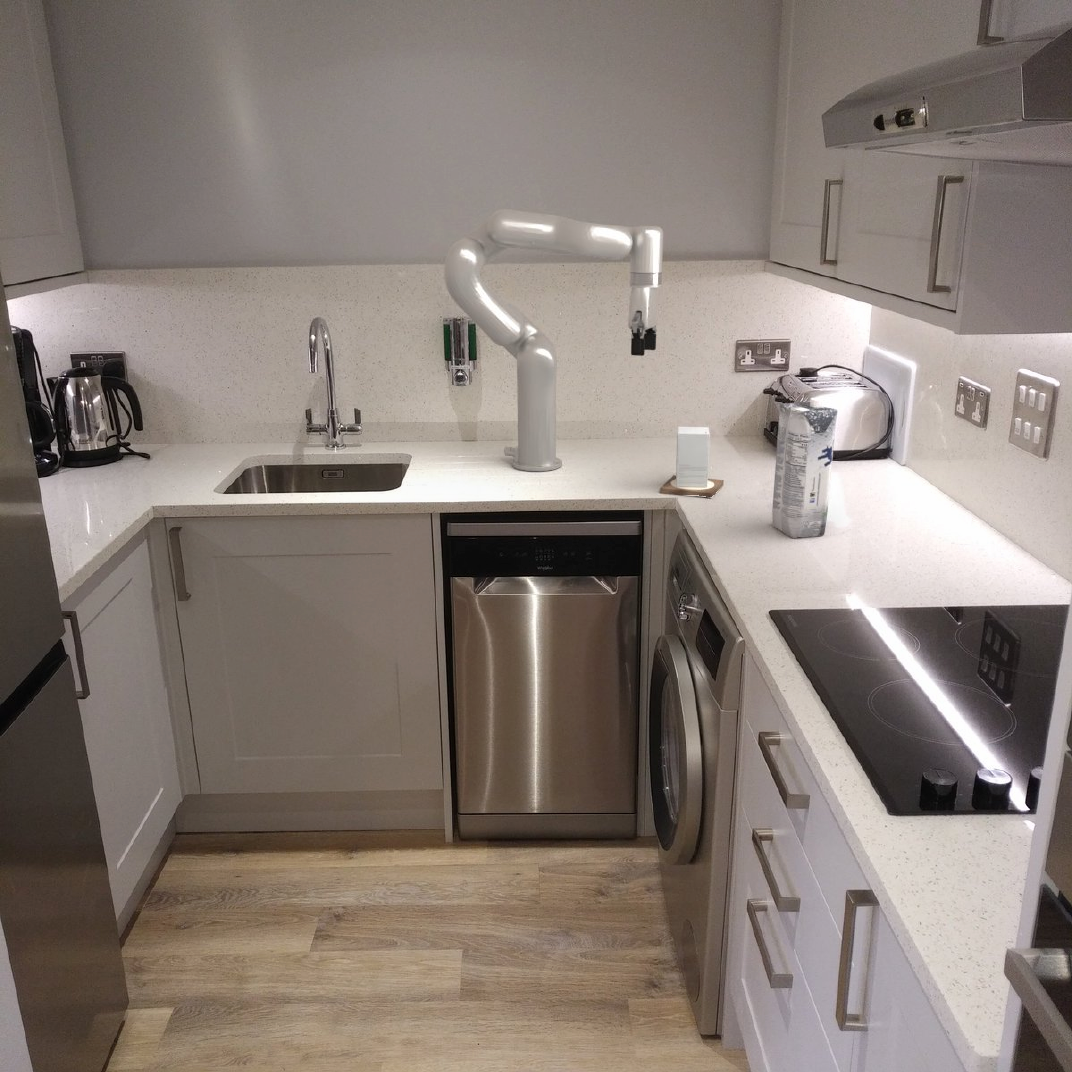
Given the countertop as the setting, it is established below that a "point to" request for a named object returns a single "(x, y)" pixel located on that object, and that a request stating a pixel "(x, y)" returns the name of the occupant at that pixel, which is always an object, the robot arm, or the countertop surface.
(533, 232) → the robot arm
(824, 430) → the juice carton
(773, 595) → the countertop surface
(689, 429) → the supplement box
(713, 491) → the board
